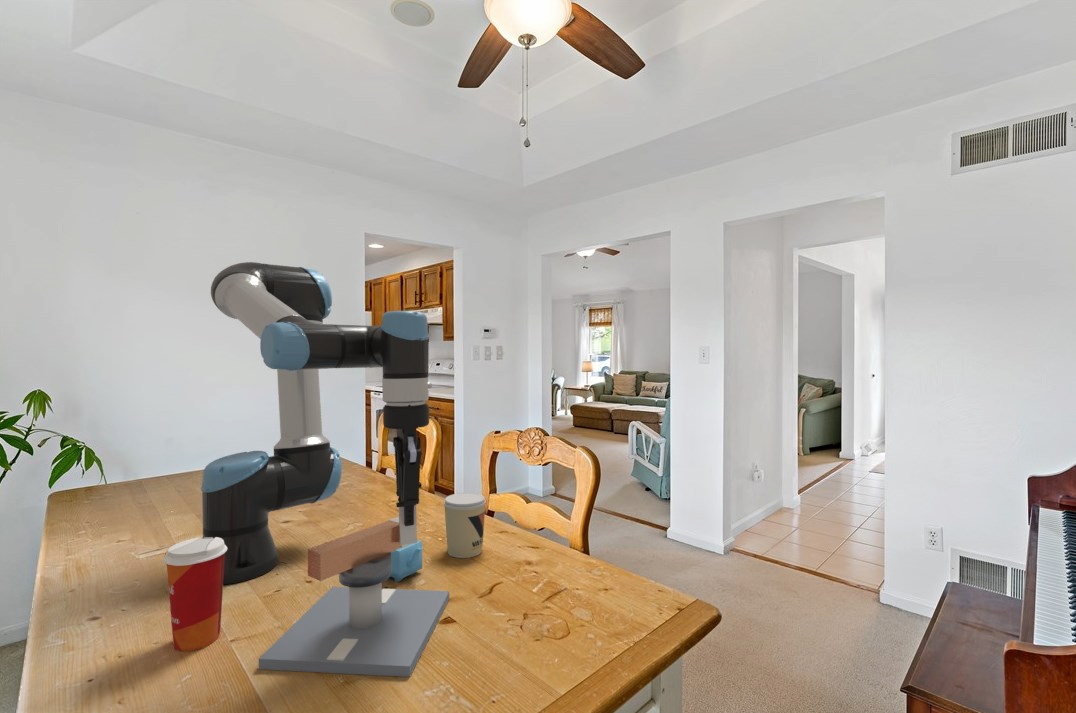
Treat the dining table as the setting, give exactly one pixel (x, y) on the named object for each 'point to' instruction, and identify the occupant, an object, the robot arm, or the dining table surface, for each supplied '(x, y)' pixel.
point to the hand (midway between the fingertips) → (408, 542)
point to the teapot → (406, 561)
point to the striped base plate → (360, 632)
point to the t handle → (357, 556)
